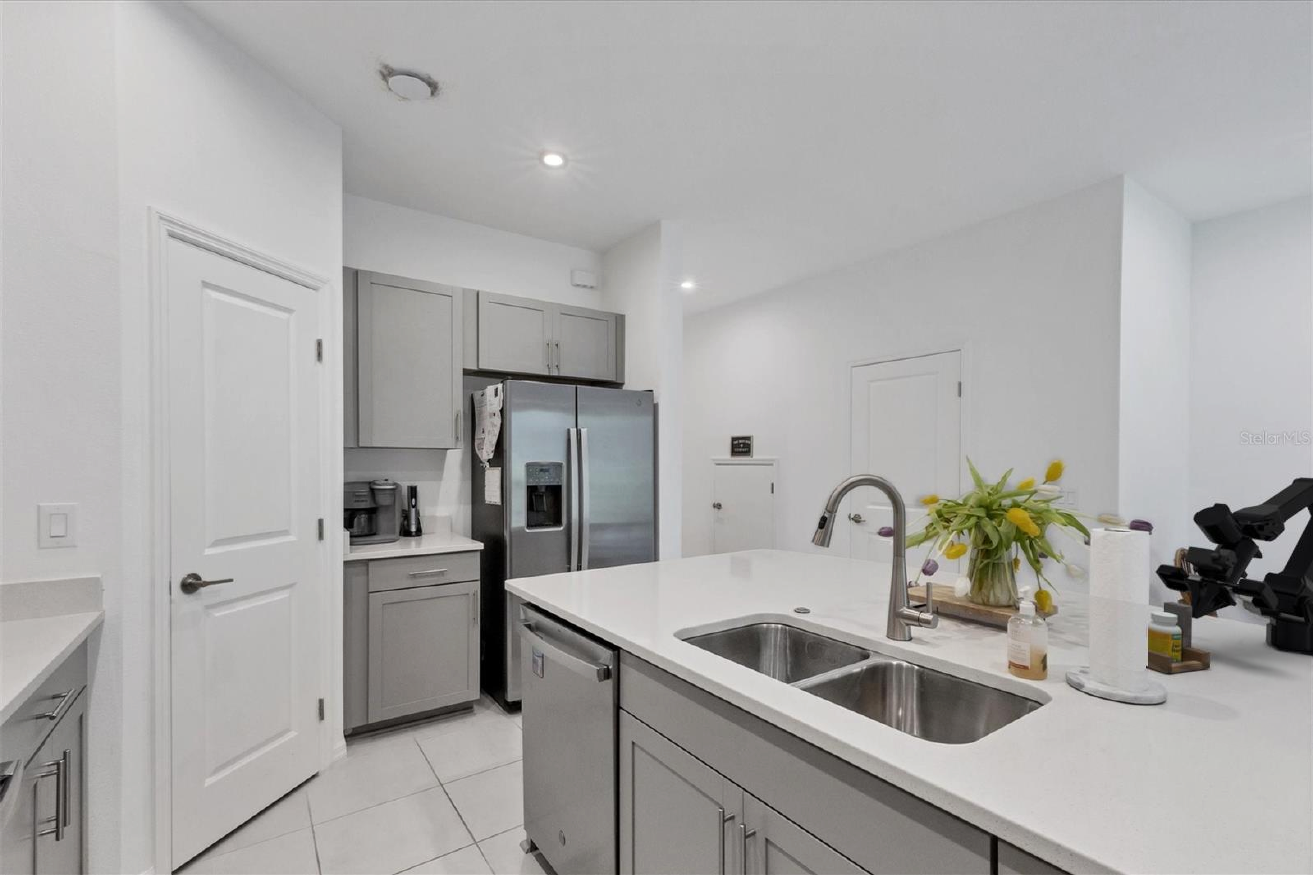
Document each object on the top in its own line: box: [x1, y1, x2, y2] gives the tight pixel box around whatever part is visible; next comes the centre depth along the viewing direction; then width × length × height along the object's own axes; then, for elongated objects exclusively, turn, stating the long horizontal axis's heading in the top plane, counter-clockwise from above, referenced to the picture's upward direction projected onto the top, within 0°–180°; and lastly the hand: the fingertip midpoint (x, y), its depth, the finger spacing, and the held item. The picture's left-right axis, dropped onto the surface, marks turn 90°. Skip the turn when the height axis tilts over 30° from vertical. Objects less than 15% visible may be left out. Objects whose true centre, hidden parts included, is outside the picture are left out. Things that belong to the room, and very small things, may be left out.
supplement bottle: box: [1147, 610, 1182, 663], centre depth 121 cm, size 5×5×10 cm
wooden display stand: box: [1147, 601, 1211, 674], centre depth 121 cm, size 12×10×11 cm
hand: (1193, 617), depth 124 cm, fingers closed
